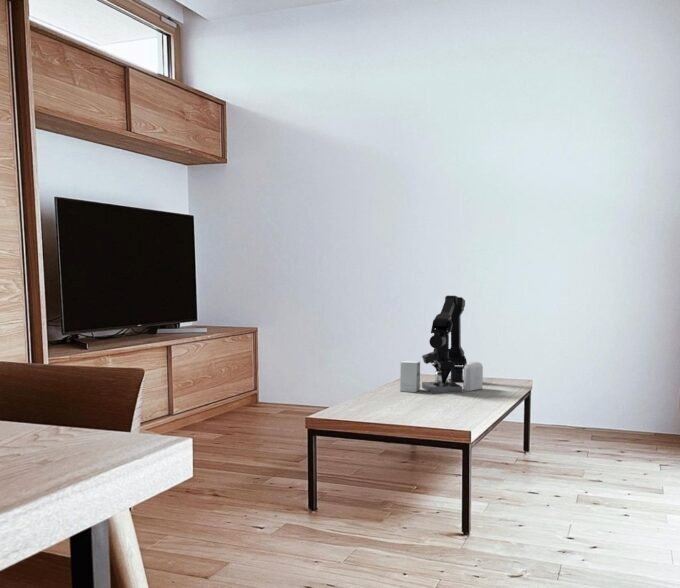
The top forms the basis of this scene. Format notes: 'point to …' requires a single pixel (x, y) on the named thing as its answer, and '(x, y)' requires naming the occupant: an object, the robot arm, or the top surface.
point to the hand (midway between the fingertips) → (441, 382)
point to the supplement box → (410, 376)
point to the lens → (439, 379)
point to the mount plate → (442, 388)
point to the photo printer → (473, 376)
